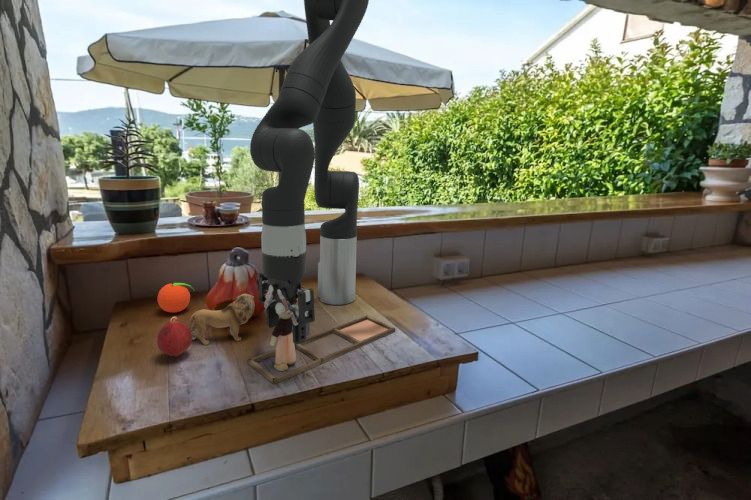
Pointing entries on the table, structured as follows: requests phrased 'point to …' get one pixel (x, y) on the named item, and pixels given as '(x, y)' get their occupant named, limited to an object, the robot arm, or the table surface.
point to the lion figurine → (223, 317)
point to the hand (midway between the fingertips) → (285, 334)
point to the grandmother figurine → (283, 339)
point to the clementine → (174, 297)
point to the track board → (354, 332)
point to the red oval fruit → (174, 337)
